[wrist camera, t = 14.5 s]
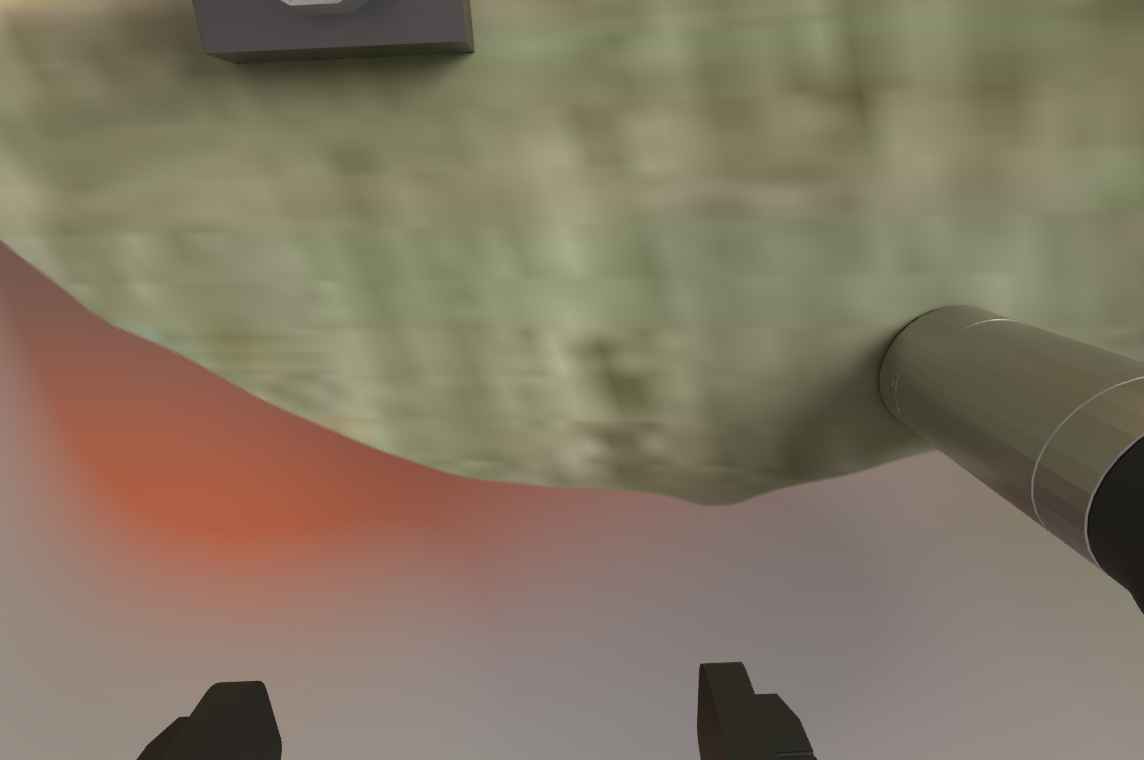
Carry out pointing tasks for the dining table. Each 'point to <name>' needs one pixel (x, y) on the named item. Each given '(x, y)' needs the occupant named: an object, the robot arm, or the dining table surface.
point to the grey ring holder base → (332, 28)
